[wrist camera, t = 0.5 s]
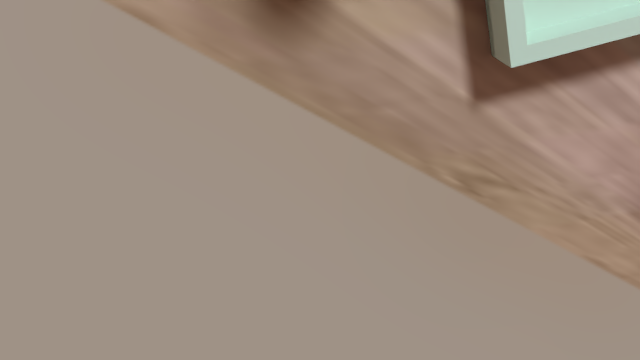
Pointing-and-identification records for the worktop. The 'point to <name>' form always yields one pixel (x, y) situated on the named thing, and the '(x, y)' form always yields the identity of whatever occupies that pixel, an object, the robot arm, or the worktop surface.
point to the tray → (556, 26)
